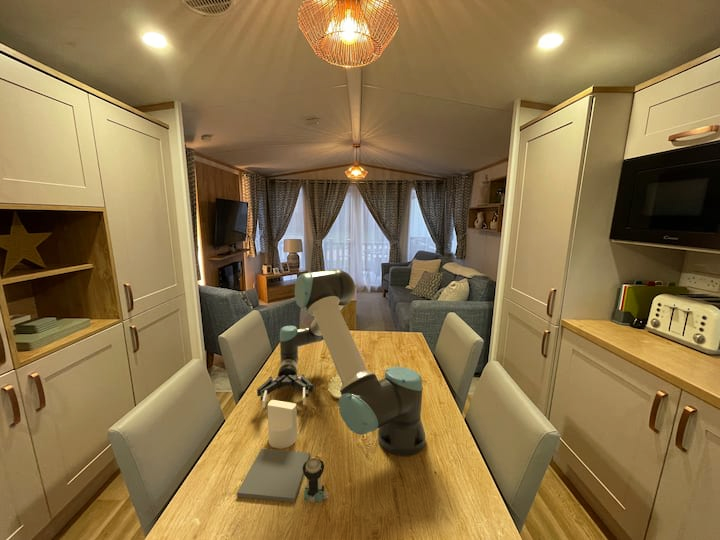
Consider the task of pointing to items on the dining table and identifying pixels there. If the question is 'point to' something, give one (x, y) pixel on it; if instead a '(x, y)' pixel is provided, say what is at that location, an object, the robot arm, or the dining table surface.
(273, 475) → the slate mat
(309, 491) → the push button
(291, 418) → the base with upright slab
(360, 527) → the dining table surface
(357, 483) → the dining table surface
